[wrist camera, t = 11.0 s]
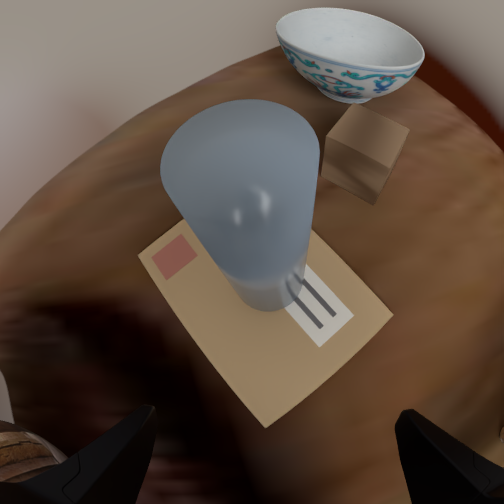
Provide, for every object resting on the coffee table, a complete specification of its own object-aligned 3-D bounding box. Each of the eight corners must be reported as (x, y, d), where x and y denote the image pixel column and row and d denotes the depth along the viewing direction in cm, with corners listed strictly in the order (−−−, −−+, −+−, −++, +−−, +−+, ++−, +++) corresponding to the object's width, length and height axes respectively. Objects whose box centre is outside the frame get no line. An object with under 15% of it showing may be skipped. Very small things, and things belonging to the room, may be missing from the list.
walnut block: (393, 167, 23) (409, 129, 18) (373, 206, 22) (390, 168, 17) (346, 142, 25) (353, 102, 20) (320, 176, 23) (326, 135, 19)
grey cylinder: (312, 257, 20) (335, 115, 8) (289, 321, 19) (288, 244, 7) (249, 237, 22) (204, 93, 10) (223, 297, 20) (132, 196, 8)
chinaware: (359, 153, 24) (376, 86, 17) (252, 84, 29) (243, 27, 22) (427, 99, 26) (444, 50, 19) (334, 47, 32) (336, 1, 25)
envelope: (392, 315, 18) (393, 314, 18) (265, 427, 17) (265, 428, 16) (250, 172, 24) (249, 170, 24) (139, 256, 22) (137, 255, 22)
